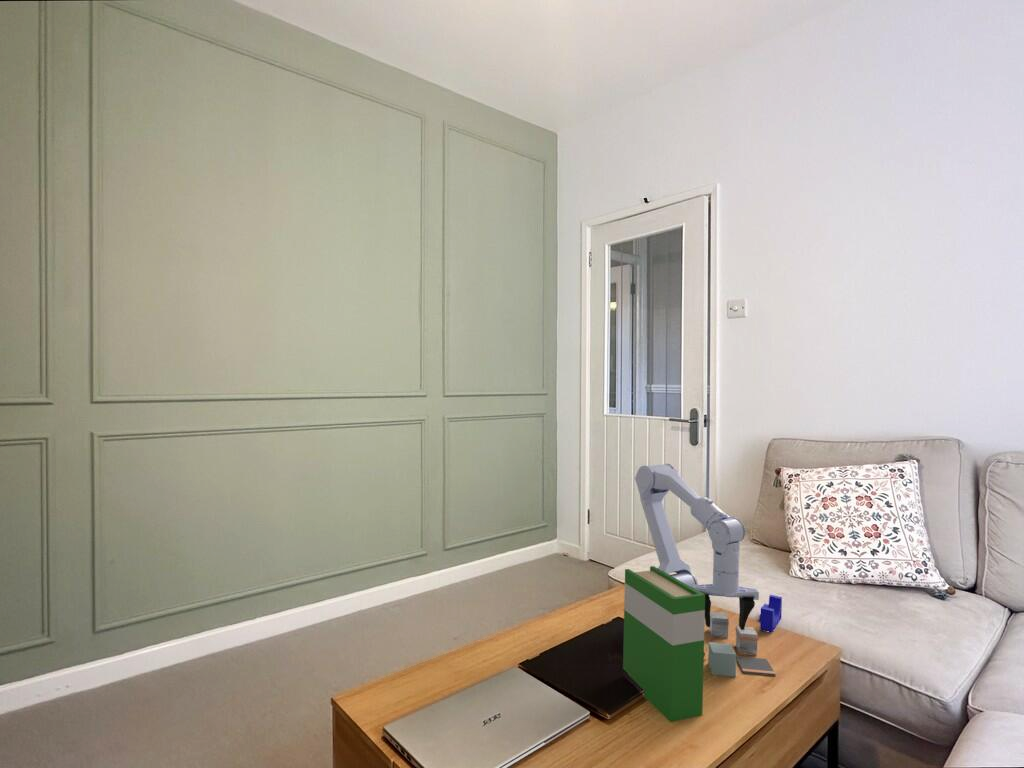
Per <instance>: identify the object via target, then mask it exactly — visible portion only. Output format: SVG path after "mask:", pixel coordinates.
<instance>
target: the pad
mask: <svg viewBox="0 0 1024 768" xmlns="http://www.w3.org/2000/svg"><path fill="white" fill-rule="evenodd" d="M736 659H737V660H736V663H737V664H738V666H739V668H740V670H741V672H742V673H743V674H751V675H763V676H770V677H771V676H772V677H776V672H775V671H774V669H773V667H772V665H771V663H770V662H769V660H768V659H767V658H761V657H760V658H759V657H748V656H746V657H745V656H738V655H736Z"/></svg>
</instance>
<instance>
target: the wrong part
mask: <svg viewBox="0 0 1024 768" xmlns="http://www.w3.org/2000/svg"><path fill="white" fill-rule="evenodd" d="M729 624H730V623H729V617H728V616H727V613H726V612H723V611H722V612H721V611H710V627H708V630H709V631H708V632H709V633H710V636H711V637H712V638H719V637H723V638H722V639H729Z"/></svg>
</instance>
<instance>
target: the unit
mask: <svg viewBox="0 0 1024 768" xmlns="http://www.w3.org/2000/svg"><path fill="white" fill-rule="evenodd" d="M736 656H737V653H736V651H735V649H734V647H733V645H732V643H721V642H710V641H708V658H707V659H708V660H707V664H708V667H709V669H710V672H711V675H713V676H714V675H715V676H725V677H737V660H736Z"/></svg>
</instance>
